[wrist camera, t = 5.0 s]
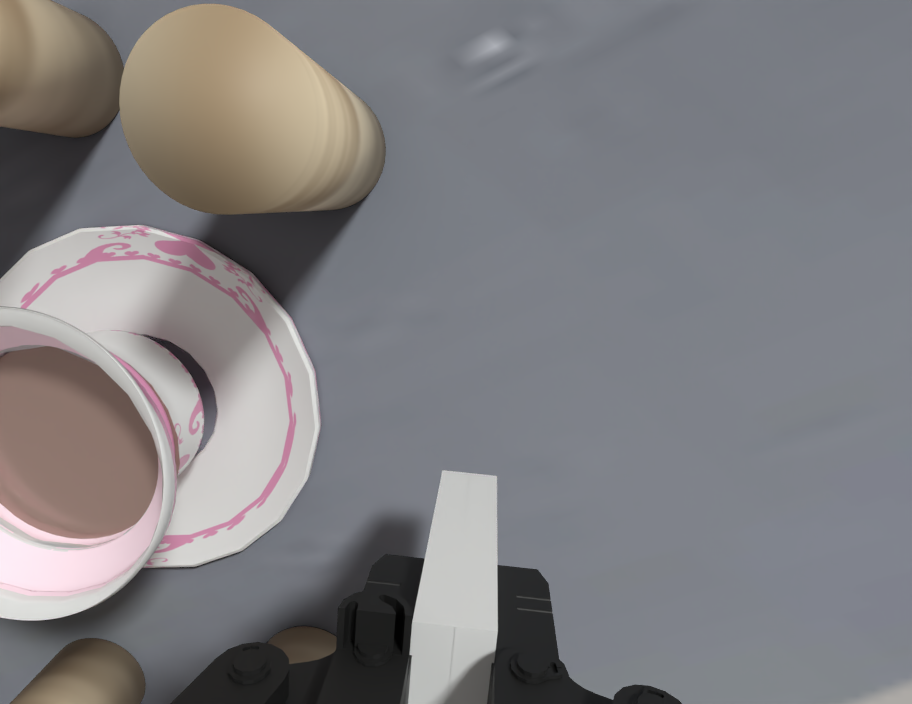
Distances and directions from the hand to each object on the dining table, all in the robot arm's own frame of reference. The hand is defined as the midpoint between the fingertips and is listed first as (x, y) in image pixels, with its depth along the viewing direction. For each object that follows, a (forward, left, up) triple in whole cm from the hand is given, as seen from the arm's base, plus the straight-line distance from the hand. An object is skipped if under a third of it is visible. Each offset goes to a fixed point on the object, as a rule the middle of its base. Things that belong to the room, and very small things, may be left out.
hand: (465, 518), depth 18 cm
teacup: (-11, +1, -4) cm, 12 cm away
